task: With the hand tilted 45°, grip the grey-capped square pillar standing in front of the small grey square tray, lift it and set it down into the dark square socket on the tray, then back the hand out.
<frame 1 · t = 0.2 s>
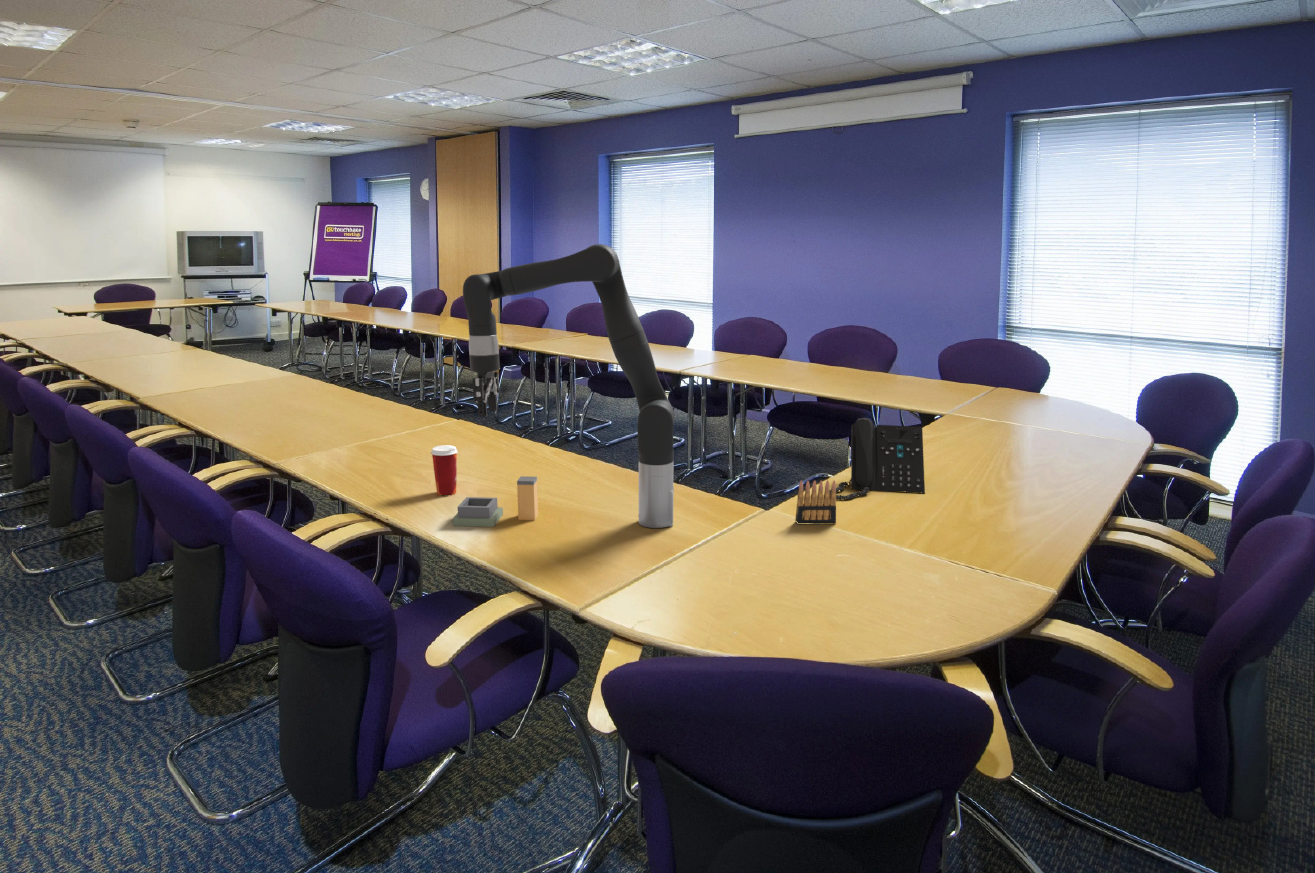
hand: (488, 413, 212), 29 cm above the table, tool pointing down, fingers open, 8 cm apart
grey square tray: (478, 519, 218), on the table
paper cup: (446, 493, 241), on the table
grey-capped square pillar: (528, 517, 220), on the table
ammunition clip: (815, 523, 217), on the table
office phone: (873, 489, 248), on the table
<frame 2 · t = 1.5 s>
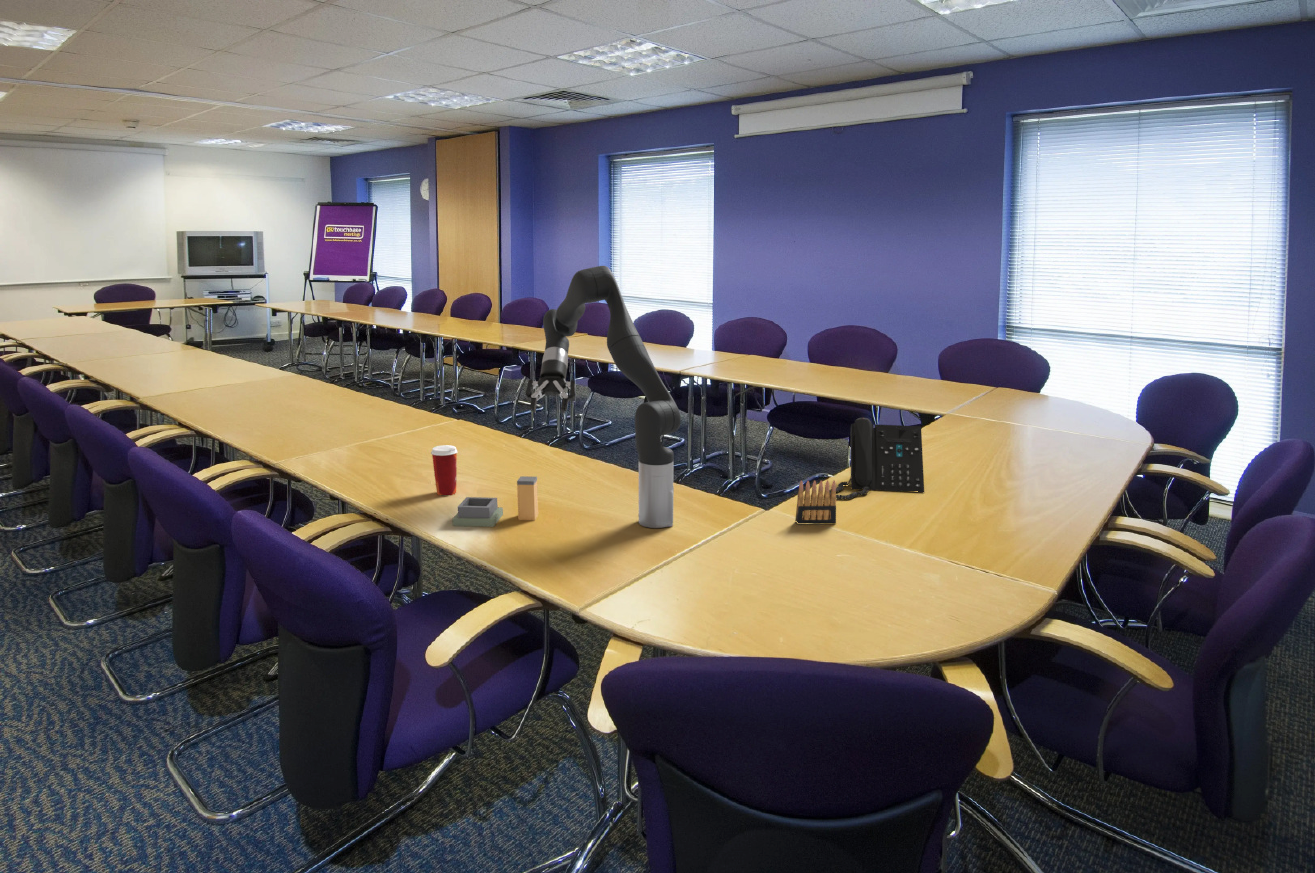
hand: (548, 411, 231), 26 cm above the table, tool tilted 45°, fingers open, 8 cm apart
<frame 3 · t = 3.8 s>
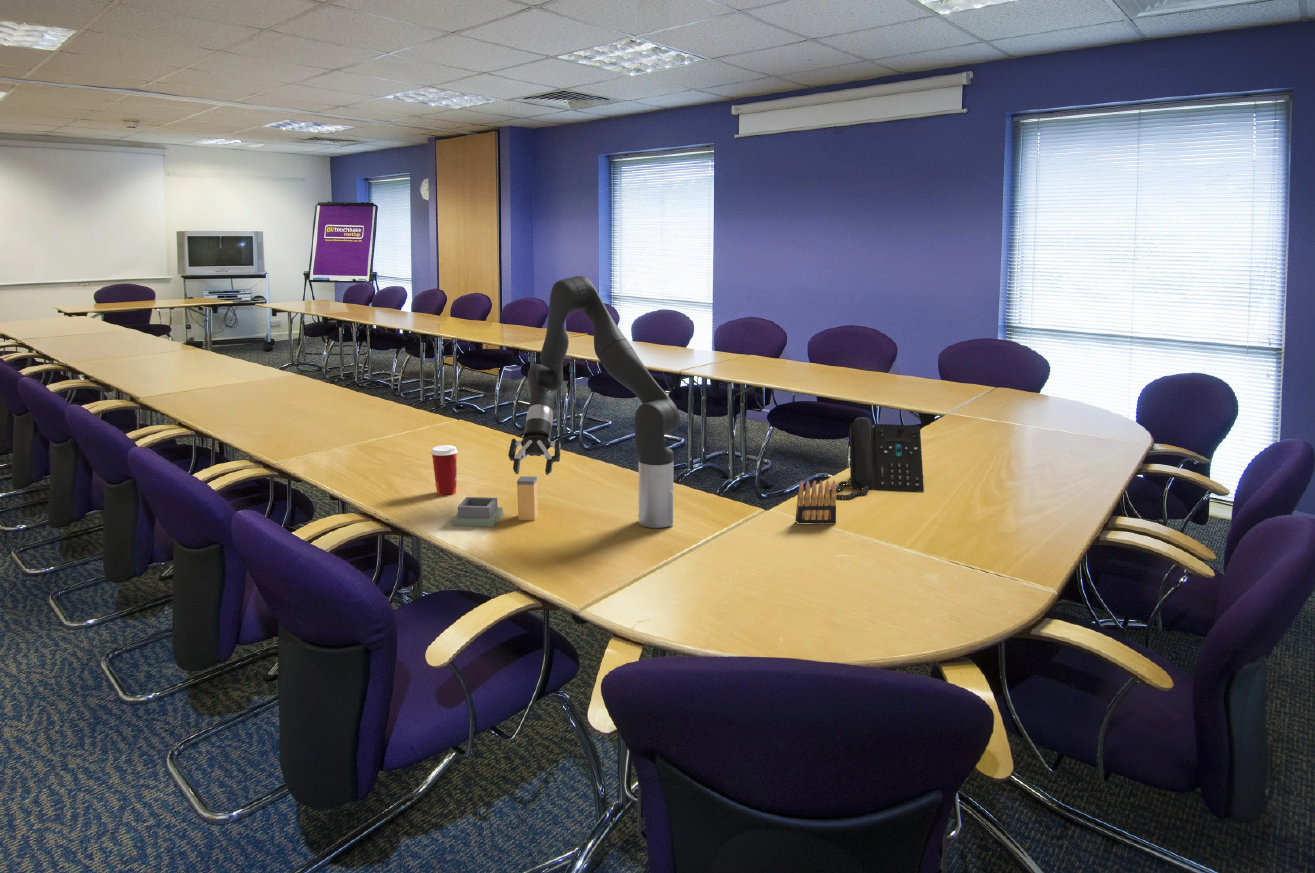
hand: (531, 473, 223), 11 cm above the table, tool tilted 45°, fingers open, 8 cm apart
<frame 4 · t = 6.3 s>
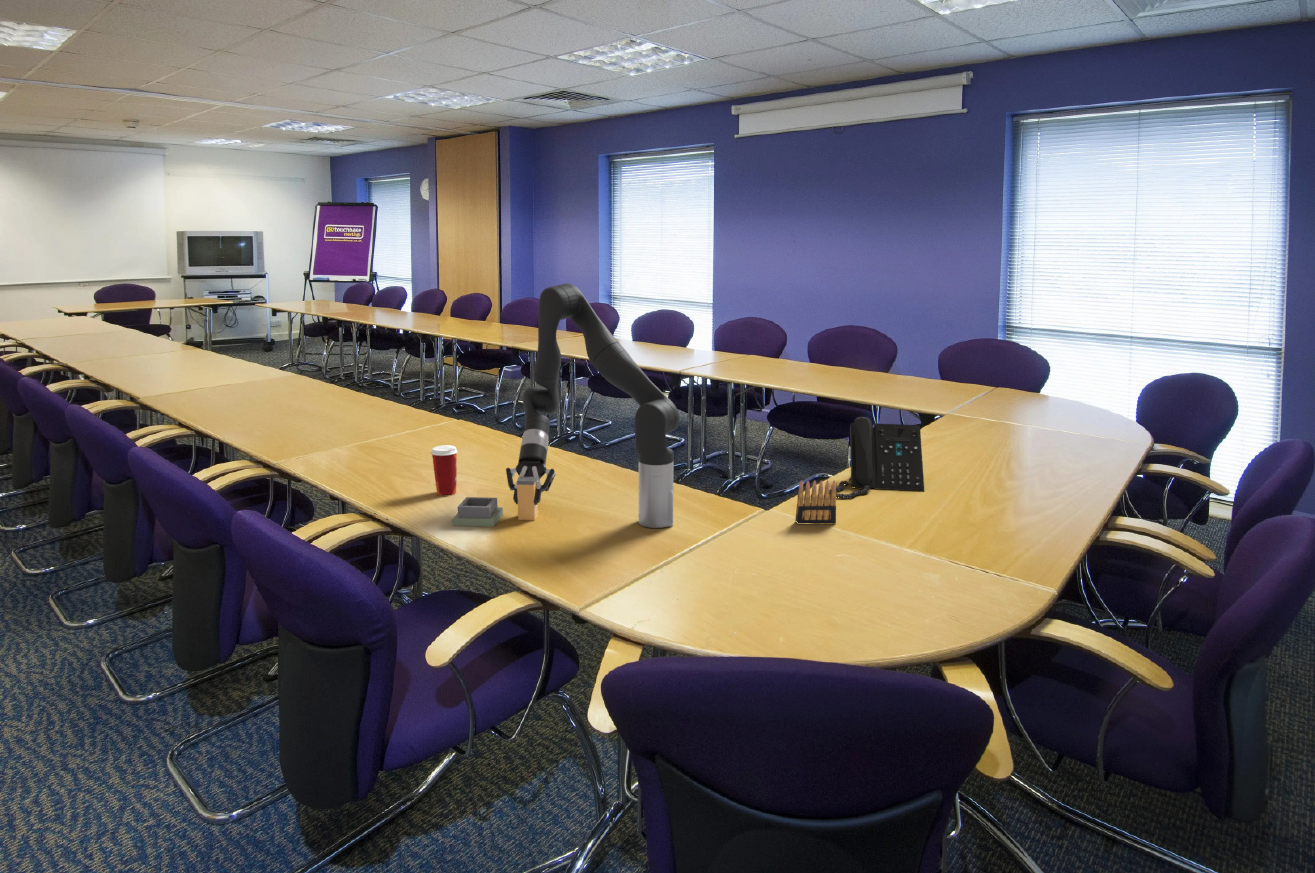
hand: (526, 503, 217), 5 cm above the table, tool tilted 45°, fingers closed on grey-capped square pillar, 4 cm apart
grey-capped square pillar: (528, 517, 220), on the table, touching gripper
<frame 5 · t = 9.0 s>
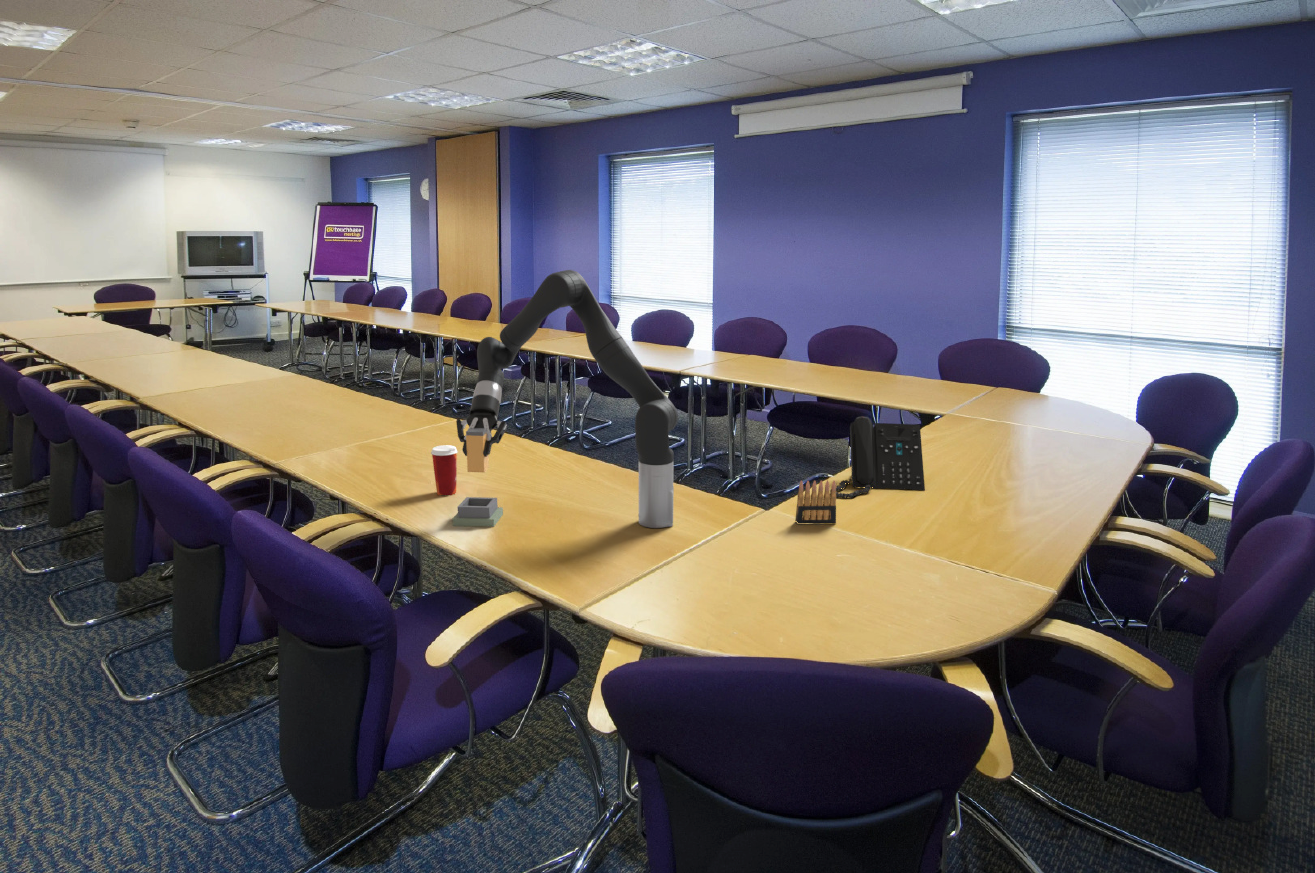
hand: (475, 454, 212), 19 cm above the table, tool tilted 45°, fingers closed on grey-capped square pillar, 4 cm apart
grey-capped square pillar: (478, 469, 215), point 14 cm above the table, touching gripper
when the fingers open (8 cm above the table, at t = 11.9 s): grey-capped square pillar drops 1 cm, resting on grey square tray.
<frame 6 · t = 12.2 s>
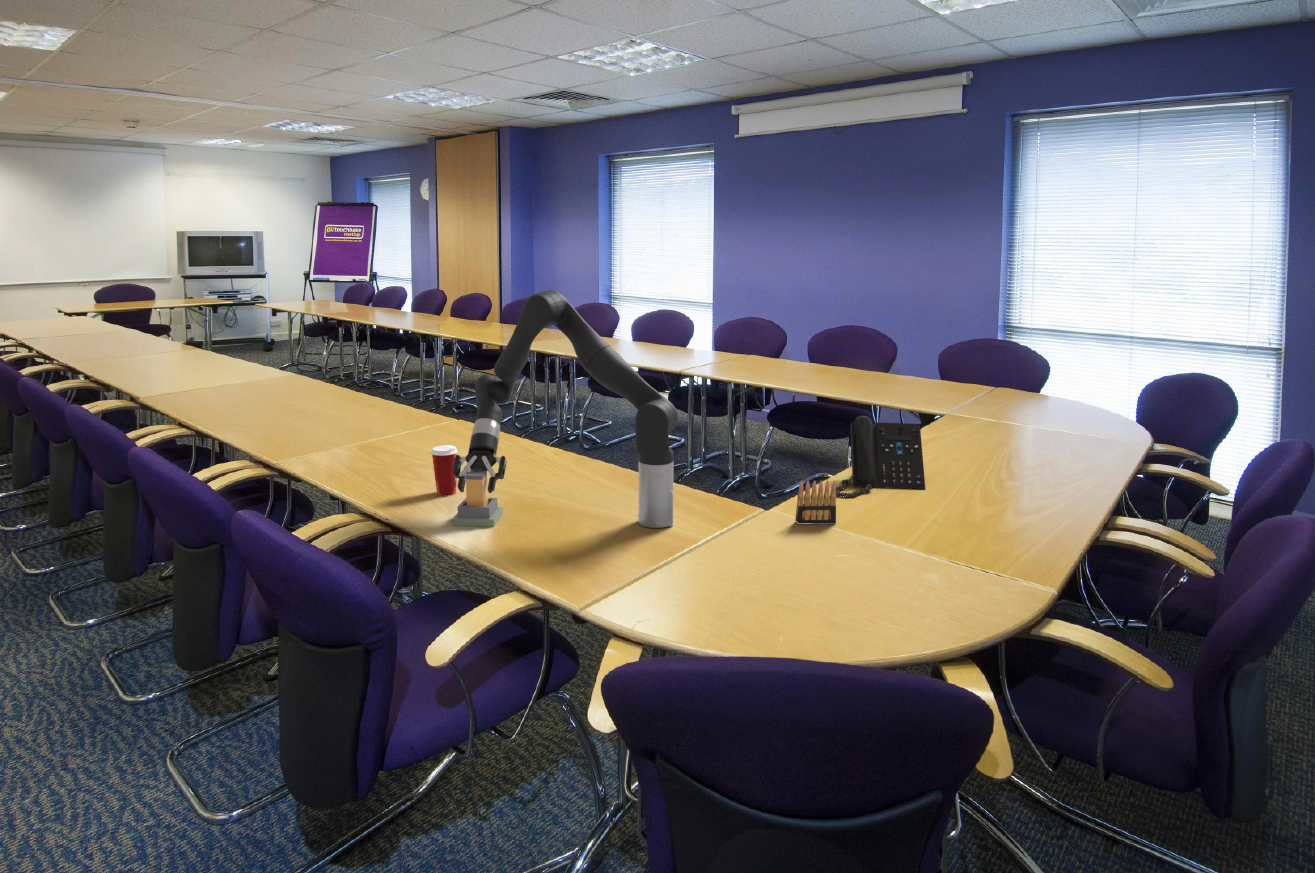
hand: (475, 491, 214), 9 cm above the table, tool tilted 45°, fingers open, 7 cm apart
grey-capped square pillar: (478, 512, 217), point 2 cm above the table, touching grey square tray
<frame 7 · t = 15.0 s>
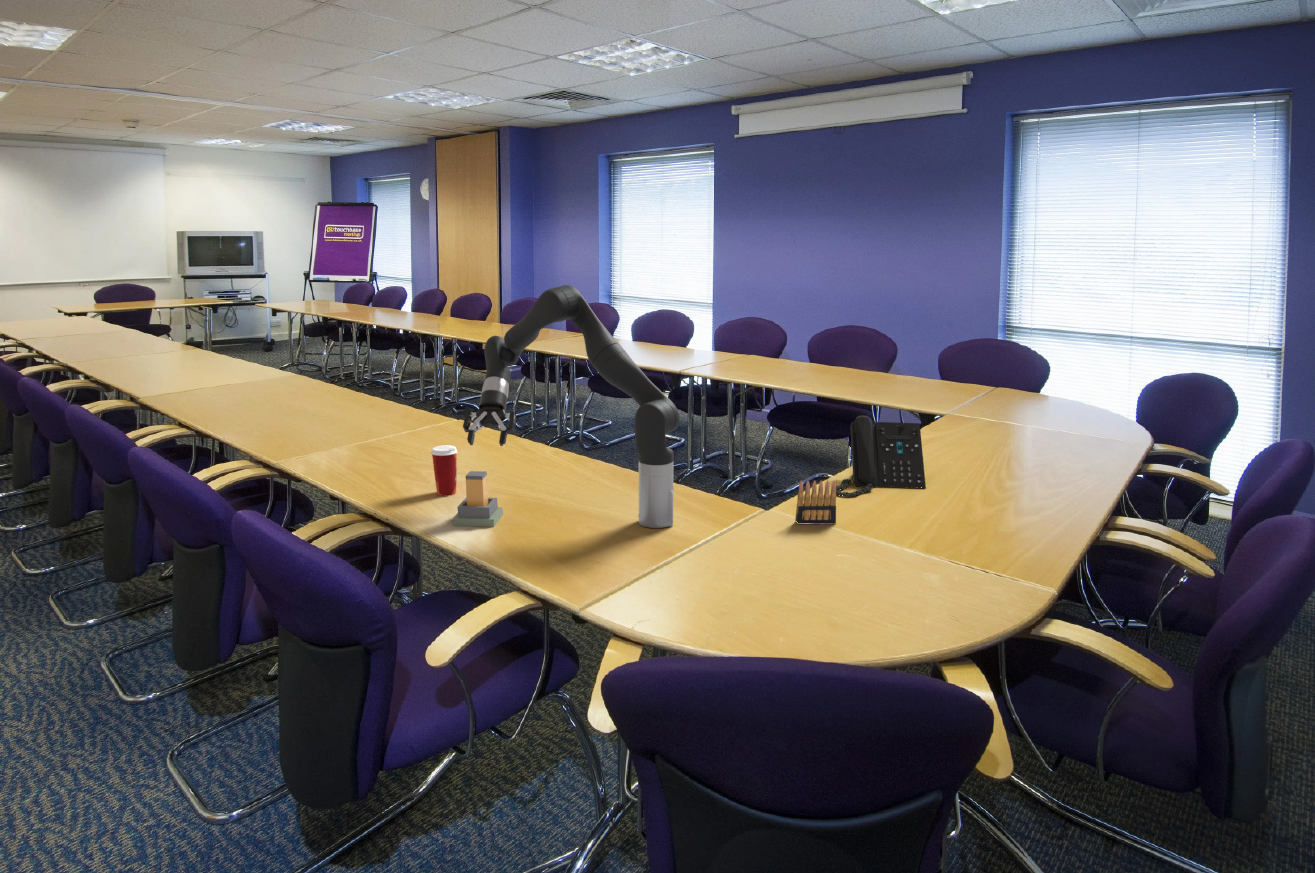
hand: (485, 444, 224), 18 cm above the table, tool tilted 45°, fingers open, 8 cm apart
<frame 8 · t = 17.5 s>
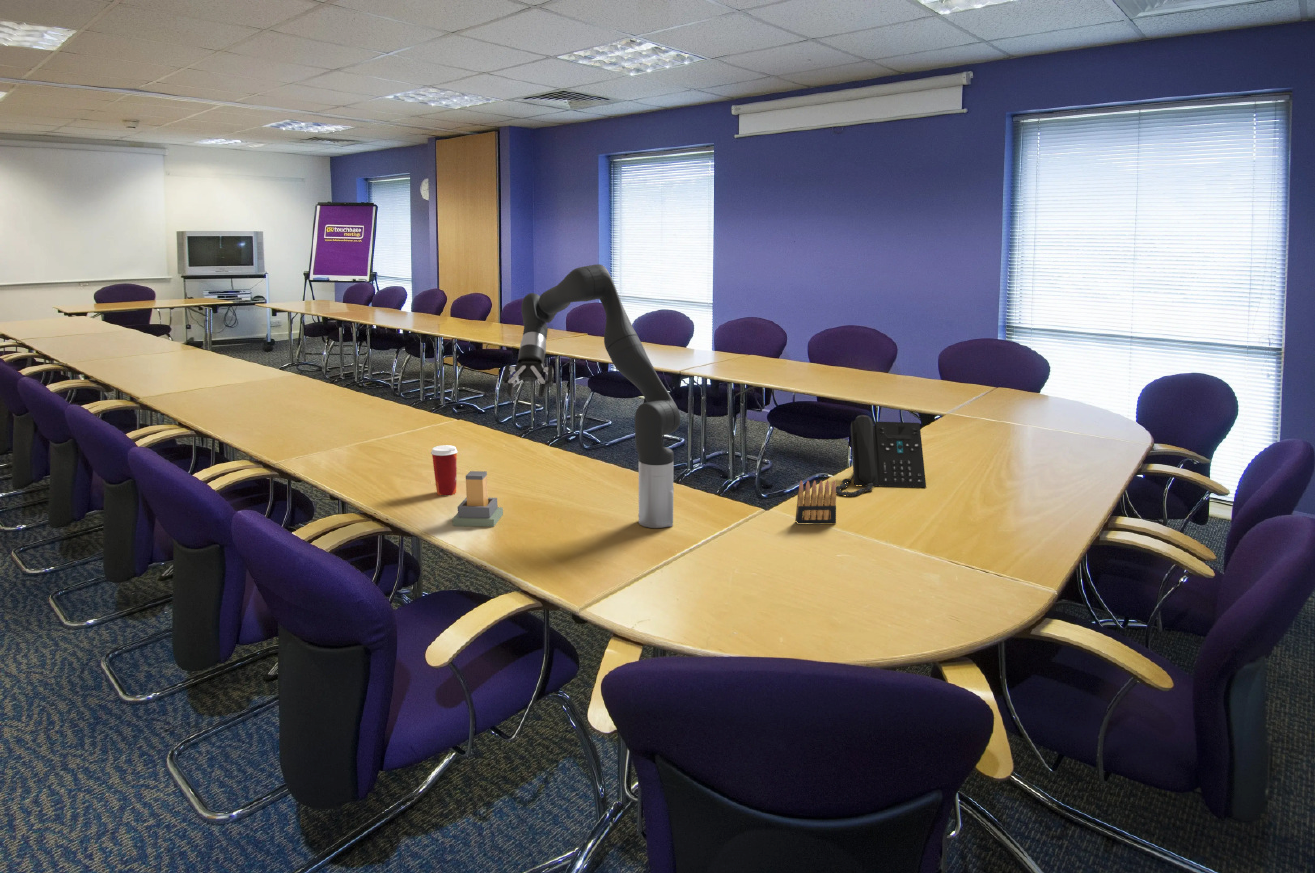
hand: (525, 397, 227), 31 cm above the table, tool tilted 45°, fingers open, 8 cm apart
at the end: grey-capped square pillar 0.1 cm off-centre on the grey square tray, point 2.0 cm above the grey square tray's base; grey-capped square pillar tilted 0°; the gripper is holding nothing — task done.
